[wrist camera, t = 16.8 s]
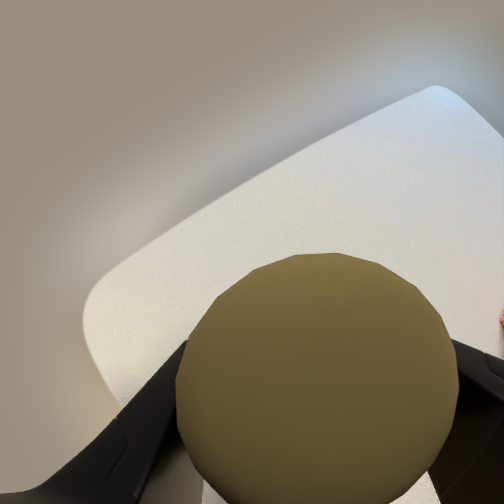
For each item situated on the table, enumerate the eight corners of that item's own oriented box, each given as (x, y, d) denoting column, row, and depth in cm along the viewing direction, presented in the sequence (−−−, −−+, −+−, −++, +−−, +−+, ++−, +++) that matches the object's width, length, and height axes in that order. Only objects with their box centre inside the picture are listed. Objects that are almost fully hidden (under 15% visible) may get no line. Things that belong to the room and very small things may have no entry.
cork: (244, 307, 15) (237, 148, 5) (354, 352, 14) (521, 277, 4) (192, 415, 13) (63, 476, 3) (307, 461, 12) (419, 580, 2)
